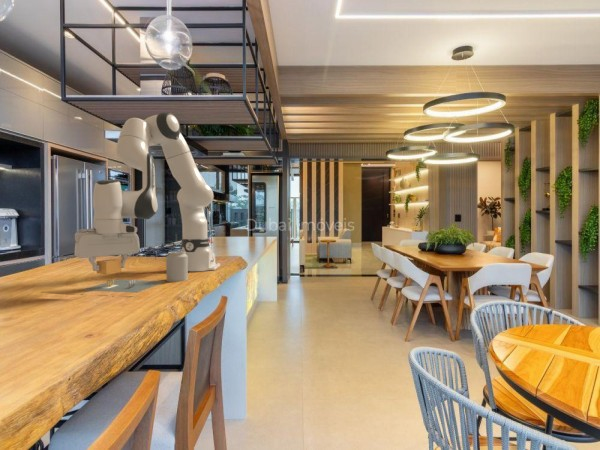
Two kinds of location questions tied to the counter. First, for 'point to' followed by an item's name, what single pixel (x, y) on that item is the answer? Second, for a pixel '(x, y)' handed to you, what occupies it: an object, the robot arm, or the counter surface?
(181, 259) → the can
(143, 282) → the header board
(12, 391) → the counter surface
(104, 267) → the orange rectangular block
